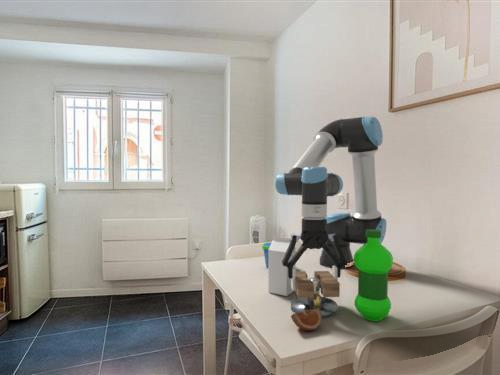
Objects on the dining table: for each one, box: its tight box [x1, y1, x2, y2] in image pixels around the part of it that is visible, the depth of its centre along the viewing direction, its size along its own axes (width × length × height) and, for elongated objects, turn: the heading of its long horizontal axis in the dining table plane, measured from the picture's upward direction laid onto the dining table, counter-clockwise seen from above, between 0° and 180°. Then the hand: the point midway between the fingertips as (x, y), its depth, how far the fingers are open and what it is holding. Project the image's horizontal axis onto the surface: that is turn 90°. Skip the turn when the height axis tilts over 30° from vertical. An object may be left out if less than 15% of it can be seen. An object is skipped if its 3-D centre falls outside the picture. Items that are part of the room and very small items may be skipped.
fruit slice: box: [290, 308, 323, 332], centre depth 89 cm, size 8×7×5 cm
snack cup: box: [261, 241, 272, 268], centre depth 147 cm, size 16×10×10 cm
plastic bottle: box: [353, 229, 394, 322], centre depth 95 cm, size 10×10×25 cm
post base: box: [290, 277, 338, 319], centre depth 102 cm, size 14×14×9 cm
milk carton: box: [267, 236, 297, 297], centre depth 117 cm, size 7×7×19 cm
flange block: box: [294, 270, 341, 298], centre depth 102 cm, size 12×12×4 cm
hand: (314, 288), depth 102 cm, fingers open, 12 cm apart
